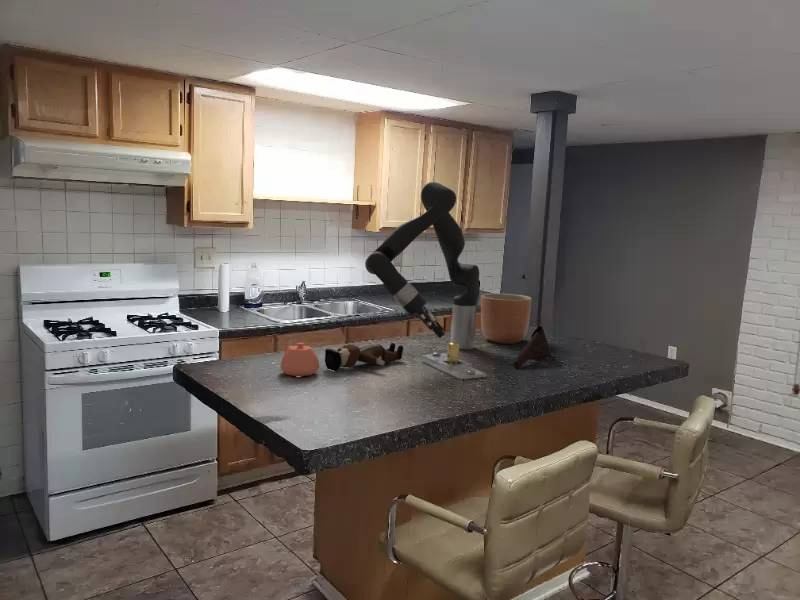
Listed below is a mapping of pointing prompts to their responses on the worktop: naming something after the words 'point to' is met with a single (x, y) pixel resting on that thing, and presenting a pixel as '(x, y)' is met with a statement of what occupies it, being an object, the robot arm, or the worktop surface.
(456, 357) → the pin
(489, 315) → the planter
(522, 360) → the holster
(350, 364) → the toy
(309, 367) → the sugar bowl
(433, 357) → the grey metal plate
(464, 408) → the worktop surface
